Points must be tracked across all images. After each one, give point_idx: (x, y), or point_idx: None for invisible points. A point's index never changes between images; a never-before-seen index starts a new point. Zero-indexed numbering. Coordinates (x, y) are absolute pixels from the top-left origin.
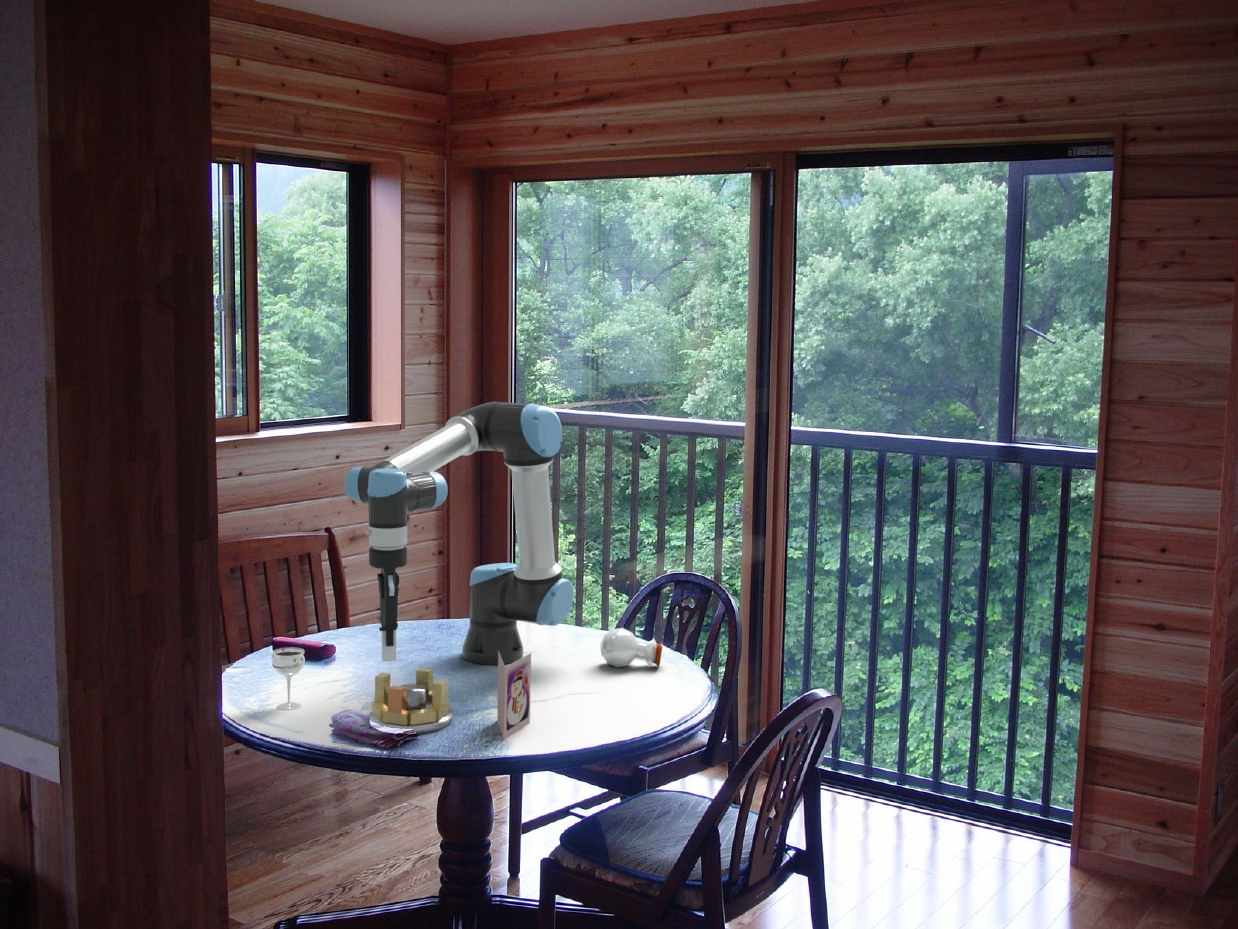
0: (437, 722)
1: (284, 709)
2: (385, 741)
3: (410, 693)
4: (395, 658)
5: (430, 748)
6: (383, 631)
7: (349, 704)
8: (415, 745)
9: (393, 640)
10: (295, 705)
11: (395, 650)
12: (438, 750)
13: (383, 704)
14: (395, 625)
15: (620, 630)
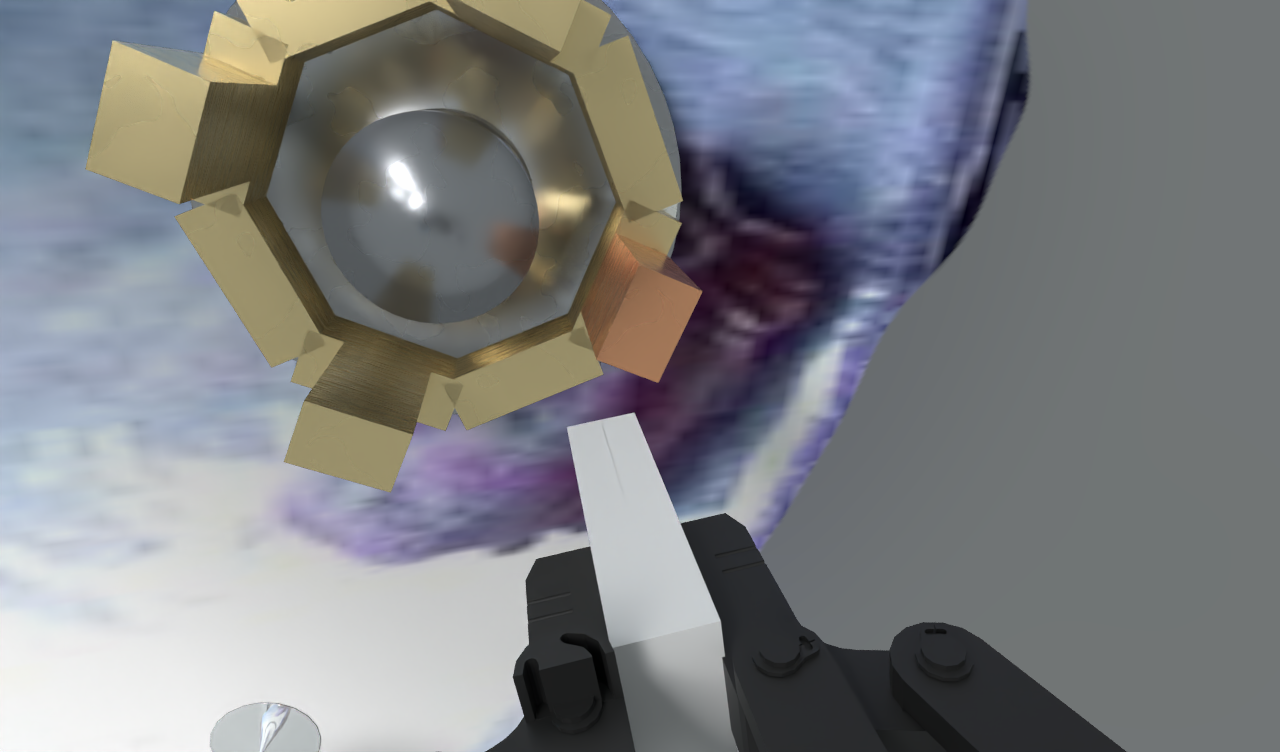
0: (607, 31)
1: (317, 746)
2: (741, 301)
3: (538, 222)
4: (639, 427)
5: (866, 79)
6: (732, 738)
7: (197, 520)
8: (814, 157)
9: (759, 553)
10: (272, 724)
11: (654, 466)
12: (900, 36)
13: (496, 367)
14: (1013, 688)
15: None
